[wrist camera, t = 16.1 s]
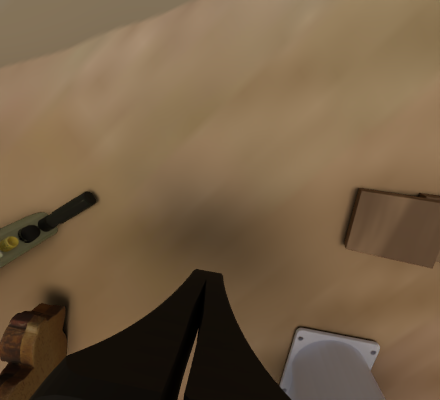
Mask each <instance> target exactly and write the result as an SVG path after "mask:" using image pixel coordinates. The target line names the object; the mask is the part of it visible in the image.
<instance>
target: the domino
mask: <svg viewBox="0 0 440 400" xmlns="http://www.w3.org/2000/svg"><path fill="white" fill-rule="evenodd" d="M344 244H345V248H346V249H348V250H352V251H357V252H361V253H366V254H370V255H375V256H379V257H384V258H388V259H393V260H397V261H402V262H406V263H410V264H415V265H419V266H424V267H428V268H433V266H434V264H435V261H436V259H437V256H438V254H439V251H440V200H435V199H428V198H422V197H415V196H409V195H402V194H396V193H389V192H382V191H376V190H369V189H363V188H359V190H358V193H357V197H356V201H355V205H354V208H353V212H352V216H351V219H350V223H349V227H348V231H347V234H346V238H345V242H344Z"/></svg>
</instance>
